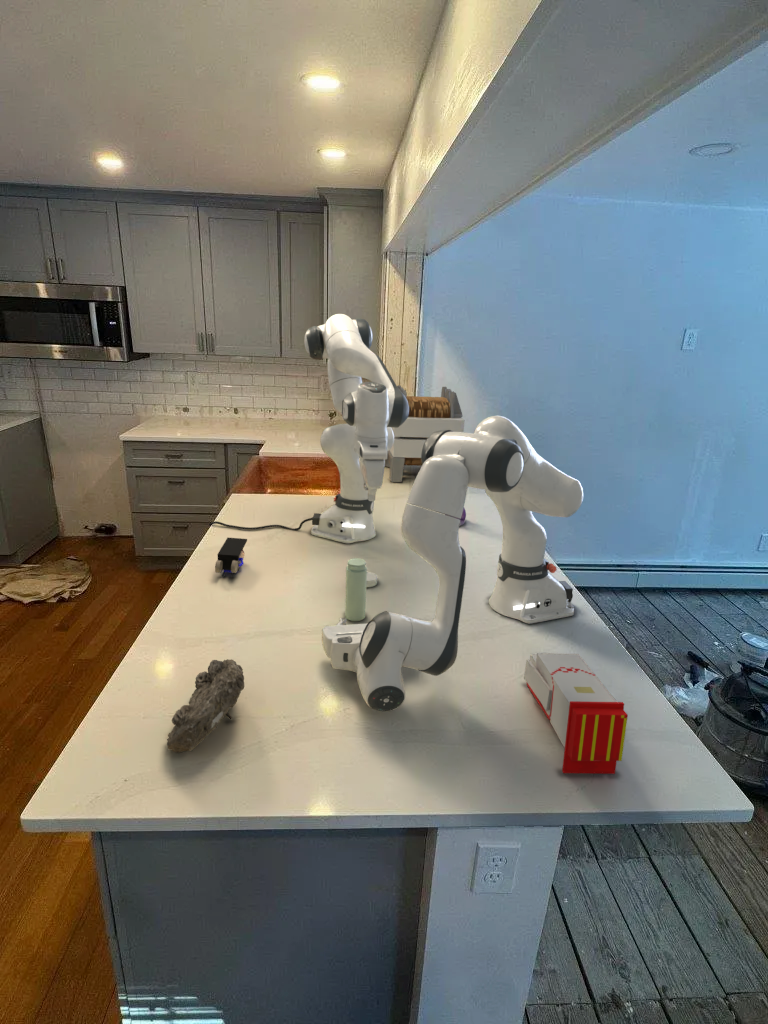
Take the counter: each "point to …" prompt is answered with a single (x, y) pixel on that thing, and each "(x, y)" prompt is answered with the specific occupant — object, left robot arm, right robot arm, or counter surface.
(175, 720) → the fossil
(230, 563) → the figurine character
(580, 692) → the toy
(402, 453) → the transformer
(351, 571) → the jar
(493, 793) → the counter surface
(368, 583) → the lid
